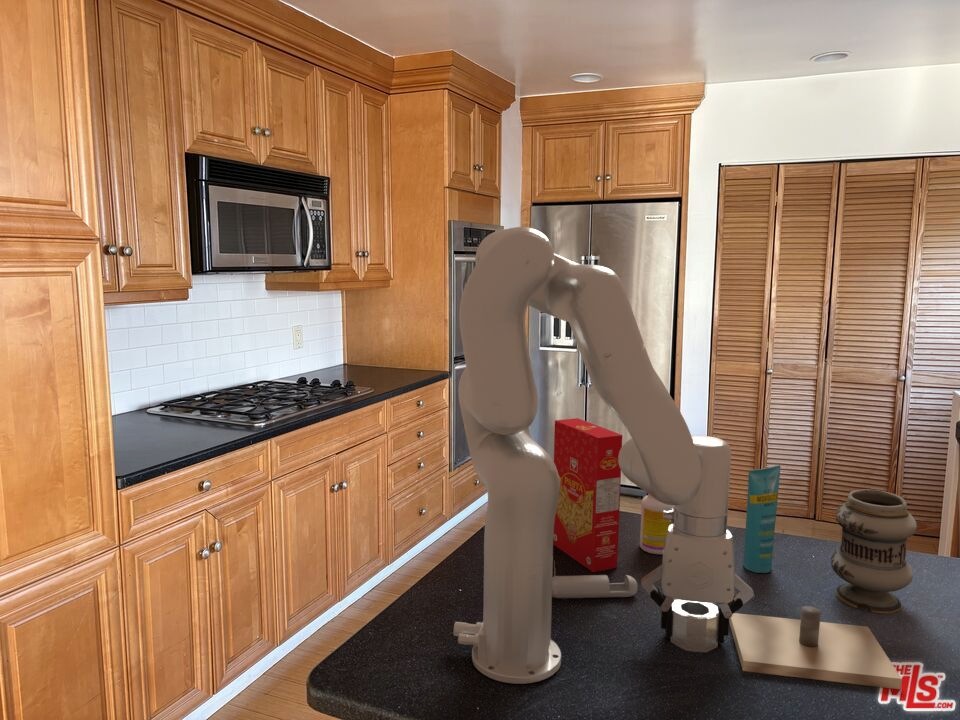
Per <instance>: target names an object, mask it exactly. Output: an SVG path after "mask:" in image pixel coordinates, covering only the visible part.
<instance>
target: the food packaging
mask: <svg viewBox="0 0 960 720" xmlns="http://www.w3.org/2000/svg"><path fill="white" fill-rule="evenodd" d="M553 440H554V441H553V462H554V464H555V466H556V468H557V471H558V475H559V481H560V489H559V498H558V504H557V509H556V514H555V522H554V534H553V546H555V547H557V548H558V549H559V550H561V551H562V550H563V553H565V554H567V555H568V556H569V557H571V559H573V560H574V561H577V562H578V563H579V564H580V565H582V566H584V567H585V568H587V570H589V571H591V572H592V573H596V572H602V571H606V570H610V569H616V568H618V557H619V555H618V554H619V532H620V530H619V528H620V527H619V526H620V509H621V508H620V507H621V506H620V505H621V480H622V478H621V477H622V471H621V469H620V466H619V462H618V456H619V452H620V449H621V448H622V446H623V434H621V433H619V432H615V431H613V430H610V429H607V428H605V427H602V426H599V425H598V424H594V423H591V422H589V421H586V420H584V419H582V418H577V417H576V418H575V417H574V418H565V419H556V420H554V439H553Z"/></svg>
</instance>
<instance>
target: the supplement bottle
mask: <svg viewBox="0 0 960 720" xmlns="http://www.w3.org/2000/svg"><path fill="white" fill-rule="evenodd" d="M647 494H648V493H647ZM673 506H674V505H667V504H664V503H661V502H659V501H658V500H656V499H655V498H653V497H652V496H651V495H649V494H648V495H645V496H644V497H643V498H642V500H641V509H640V510H641V511H640V527H639V529H640V531H639V547H640V549H642V551H644V552H647V553H648V554H653V555H661V556H663V550H664V545H665V539H666V535H667V531H668V527H669V526H670V525H671V521H668V520H663V512H664V511H669V510H670V511H671V510H672V509H673Z"/></svg>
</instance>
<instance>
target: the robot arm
mask: <svg viewBox="0 0 960 720" xmlns="http://www.w3.org/2000/svg"><path fill="white" fill-rule="evenodd" d="M528 306H529V307H531V308H533V309H535V310H537V311H540V312H542V313H544V314H545V315H546V314H547V315H549V316H552V317H553V318H556V319H559V320H562V321H564V322H566V323H567V322H568V323H569V326H570V329H571V331H572V332H571V333H572V334H573V336H574V339H575V342H576V345H577V347H578V350H579V352H580V355H581V359H582V360H583V364H584V367H585V369H586V371H587V374H588V377H589V381H590V383H591V385H592V387H593V389H594V390H595V392H596V393H597V395H598V396H599V398H600V399H601V400H602V401H603V402H604V404H606V406H607V407H608V408H609V409H610V410H611V411H612V412H613V413H614V414H615V415H616V417H617V418H618V419H619V421H621V423H622V424H623V426H624V427H625V429H626V430H627V432H628V433H629V435H630V437H631V438H629V439H628V440H627V441H626V442H624V444H622V448H621V449H620V452H619V456H618V462H619V466H620V469H621V474H623V475H624V477H625V478H626V479H627V480H629V481H630V482H631V483H633V484H634V485H635V486H637V488H640V489H641V490H643V491H644V492H645V493H646V494H649V495H651V496H652V497H653V498H655V499H656V500H658V501H659V502H661V503H664V504H667V505H674V506H673V509H672V510H671V511H670V510H669V511H664V512H663V520H668V521H671V525H670V526H669V527H668V531H667V535H666V539H665V545H664V550H663V555H662V561H661V564H660V565H659V566H658V567H656V568H654V569H653V570H651V572H649V573H647V574H646V575H645V576H643V577H641V579H640V585H641V587H642V588H643V589H644V591H645V592H646V593H647V594H648V596H650V598H651V600H653V601H654V603H655V604H656V605H657V606H658V607H659V608H660V611H661V612H660V614H661V615H660V629H661V630H665V632H664V633H665V638H670V637H671V627H672V609H671V605H672V604H673V602H674V601H675V600H685V601H695V602H705V603H711V604H715V605H716V604H718V606H719V608H718V612H719V630H718V643H719V644H722V645H724V643H725V636H727V637H728V636H729V629H730V624H729V618H731V617H732V614H733V613H737V612H738V611H739V610H740V609H742V608H743V607H744V605H745V604H746V603H748V602H749V601H750V600H751V599H752V598H753V597H754V596H755V593H754V590H753V588H752V587H751V586H750V585H749V584H747V583H746V582H745V581H744V580H743V579H742V578H741V577H740V576H739V575H738V574H736V570H735V569H736V565H735V563H736V561H735V559H736V557H735V546H734V539H733V535H732V533H731V531H730V530H729V529H728V517H729V515H728V513H729V496H730V481H731V465H732V449H731V446H730V445H729V443H728V442H727V441H725V440H724V439H722V438H719V437H714V436H708V435H692V434H691V431H690V428H689V427H688V424H687V422H686V420H685V418H684V416H683V415H682V412H681V411H680V409H679V407H678V406H677V404H676V403H675V400H674V399H673V397H672V396H671V395H670V392H669V391H668V389H667V387H666V385H665V384H664V382H663V381H662V378H661V377H660V376H659V375H658V374H657V372H656V370H655V369H654V367H653V365H652V362H651V359H650V357H649V354H648V352H647V348H646V345H645V344H644V340H643V337H642V335H641V332H640V327H639V326H638V322H637V319H636V316H635V313H634V311H633V308H632V305H631V303H630V300H629V298H628V295H627V292H626V289H625V285H624V284H623V282H622V280H621V278H620V277H619V276H618V275H617V273H616V272H614V271H613V270H612V269H610V268H608V267H605V266H602V265H597V264H583V263H582V264H580V263H577V262H575V261H571V260H570V259H567V258H566V257H564V256H561V255H558V254H556V253H555V250H554V248H553V245H552V243H551V240H549V238H548V237H547V235H545V234H544V233H543V232H541V231H539V230H538V229H535V228H533V227H526V226H517V227H515V226H514V227H509V228H506V229H500V230H497V231H494V232H492V233H489V234H487V236H486V237H484V238H483V240H482V241H481V242H480V243H479V245H478V246H477V249H476V252H475V266H474V268H473V269H472V271H471V273H470V274H469V277H468V279H467V281H466V283H465V285H464V289H463V292H462V294H461V298H460V303H459V316H458V317H459V319H458V321H459V331H460V337H461V343H462V348H463V356H464V360H465V365H466V366H465V368H464V370H463V371H462V373H461V376H460V378H459V382H458V390H457V391H458V402H459V407H460V412H461V418H462V422H463V426H464V431H465V432H464V433H465V438H466V441H467V442H466V443H467V445H468V447H467V448H468V449H469V455H470V459H471V463H472V467H473V469H474V471H475V474H476V475H477V478H478V479H479V480H480V482H481V483H482V485H483V486H484V488H485V490H486V492H487V509H486V515H485V522H484V535H483V538H484V539H483V618H482V622H480V621H476V623H475V624H474V623H468V622H462V621H455V622H454V625H453V636H454V637H455V636H456V637H458V638H457V643H458V644H461V645H472V648H471V649H472V650H471V661H472V663H473V666H474V667H475V668H476V669H477V671H479V672H480V673H481V674H482V675H484V676H486V677H488V678H490V679H492V680H494V681H496V682H497V681H498V682H502V683H506V684H515V685H517V684H519V685H524V684H532V683H537V682H541V681H543V680H545V679H549V678H551V677H552V676H554V674H555V673H557V672H558V670H559V669H560V668H561V664H562V650H561V648H560V647H559V646H558V644H557V643H556V642H555V641H554V640H552V605H553V603H552V600H553V597H552V577H553V569H554V567H553V566H554V544H553V534H554V522H555V514H556V509H557V504H558V498H559V489H560V481H559V475H558V471H557V468H556V466H555V464H554V459H553V458H552V457H551V455H550V454H549V453H548V452H547V451H546V450H545V448H543V447H542V446H541V445H539V443H537V441H535V440H533V439H532V437H531V432H530V427H531V425H532V424H533V422H534V420H535V419H536V416H537V413H538V410H539V395H538V389H537V385H536V384H537V383H536V381H535V377H534V376H535V375H534V372H533V365H532V362H531V356H530V350H529V346H528V340H527V339H528V337H527V329H526V313H527V309H528ZM660 580H661V581H660ZM658 581H660V582H661V590H662V591H660V590H659V589H658V588H657V587H656V586H655V585H654V584H655V583H657V582H658ZM735 588H736V589H737V590H738V591H739V592H738V593H737V595H735ZM670 639H671V638H670Z"/></svg>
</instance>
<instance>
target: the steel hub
mask: <svg viewBox="0 0 960 720" xmlns="http://www.w3.org/2000/svg"><path fill="white" fill-rule="evenodd" d="M671 609H672V627H671V637H670V643H671V644H673V645H675V646H677V647H679V648H680V649H682V650H683V651H687V652H695V653H702V654H703V653H704V654H705V653H708V652H710V651H713V650H714V649H717V648H718V643H719V642H718V630H719V612H718V610H719V608H718V606H717V605H716V604H714V603H705V602H695V601H685V600H676V599H675V600H674V602H673V604H672V605H671Z"/></svg>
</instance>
